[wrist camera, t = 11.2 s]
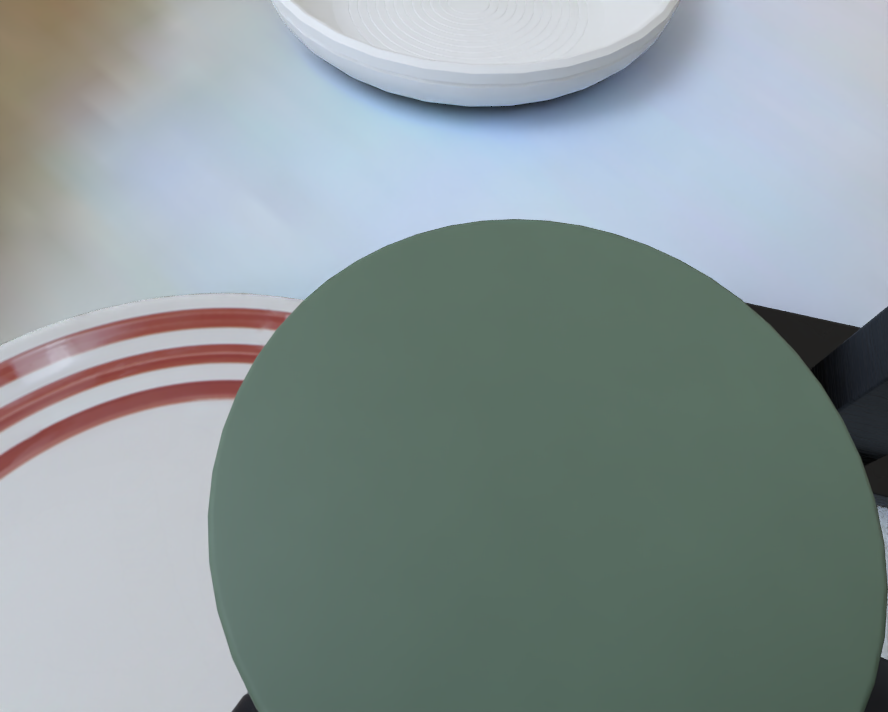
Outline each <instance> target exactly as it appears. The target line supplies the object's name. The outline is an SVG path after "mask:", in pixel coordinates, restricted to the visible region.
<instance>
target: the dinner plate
mask: <svg viewBox="0 0 888 712" xmlns="http://www.w3.org/2000/svg"><path fill="white" fill-rule="evenodd" d="M303 301H304V300H301V299H294V298H287V297H279V296H270V295H259V294H248V293H205V294H188V295H177V296H167V297H160V298H152V299H146V300H140V301H134V302H130V303H125V304H121V305H116V306H112V307H108V308H103V309H99V310H96V311H92V312H88V313H85V314H81V315H78V316H74V317H71V318H69V319H66V320H63V321H60V322H57V323H54V324H51V325H48V326H46V327H43V328H40V329H38V330H35V331H32V332H30V333H27V334H25V335H22V336H20V337H18V338H15V339H13V340H11V341H8V342H6V343H4V344H1V345H0V712H232V710H233V709H234V707H235V706H236V705H237V703H238V702H239V701H240V699H241V698H242V697H243V695H245V694H247V692H248V691H247V689H246V687H245V684H244V682H243V680H242V678H241V676H240V674H239V672H238V670H237V668H236V666H235V663H234V661H233V659H232V656H231V653H230V650H229V647H228V643H227V640H226V637H225V634H224V631H223V628H222V624H221V621H220V618H219V615H218V612H217V607H216V601H215V595H214V589H213V583H212V577H211V571H210V565H209V546H208V507H209V498H210V488H211V479H212V471H213V467H214V463H215V459H216V455H217V450H218V446H219V442H220V438H221V434H222V430H223V428H224V425H225V422H226V420H227V417H228V415H229V412H230V409H231V407H232V404H233V402H234V399H235V397H236V394H237V392H238V390H239V388H240V386H241V384H242V382H243V381H244V379H245V377H246V375H247V373H248V371H249V370H250V368H251V366H252V364H253V362H254V360H255V359H256V357H257V356H258V354H259V353H260V352H261V350H262V349H263V347H264V346H265V345H266V343H267V342H268V341H269V339H270V338H271V336H272V335H273V334H274V332H275V331H276V329H277V328H278V327H279V326H280V325H281V324H282V323H283V322H284V321H285V320H286V319H287V317H288V316H289V315H290V314H291V313H292V312H293V311H294V310H295V309H296V308H297V307H298V306H299V305H300V303H301V302H303Z"/></svg>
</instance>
